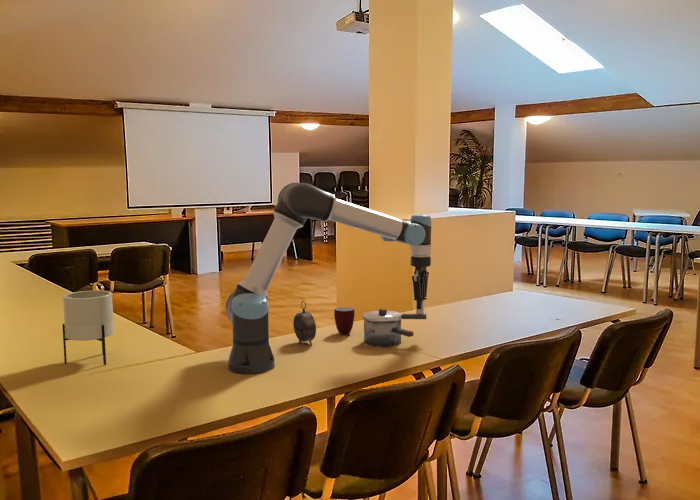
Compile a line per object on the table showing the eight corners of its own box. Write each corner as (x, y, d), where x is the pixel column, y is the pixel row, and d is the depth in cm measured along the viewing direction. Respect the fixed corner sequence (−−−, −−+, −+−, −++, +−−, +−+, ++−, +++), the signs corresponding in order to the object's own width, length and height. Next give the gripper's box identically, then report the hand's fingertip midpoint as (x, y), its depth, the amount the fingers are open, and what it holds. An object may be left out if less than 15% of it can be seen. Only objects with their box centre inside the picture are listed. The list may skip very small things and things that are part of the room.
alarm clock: (317, 346, 226) (316, 302, 224) (304, 348, 223) (303, 304, 221) (303, 339, 235) (303, 297, 233) (291, 341, 233) (290, 299, 231)
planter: (65, 357, 212) (61, 292, 209) (114, 352, 218) (111, 288, 216) (63, 370, 198) (59, 300, 196) (116, 364, 204) (112, 296, 202)
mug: (352, 338, 237) (352, 312, 236) (332, 337, 238) (332, 312, 237) (355, 331, 247) (355, 307, 246) (335, 330, 248) (335, 306, 247)
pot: (396, 354, 214) (396, 329, 213) (356, 340, 233) (356, 317, 232) (425, 348, 222) (425, 324, 221) (385, 335, 241) (385, 312, 240)
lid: (427, 323, 222) (427, 314, 221) (362, 322, 223) (362, 313, 223) (425, 314, 236) (425, 305, 236) (364, 313, 238) (364, 305, 237)
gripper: (417, 253, 238) (416, 312, 241) (405, 257, 226) (404, 319, 229) (435, 254, 235) (434, 314, 238) (424, 258, 223) (423, 321, 226)
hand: (420, 316), depth 233 cm, fingers closed
